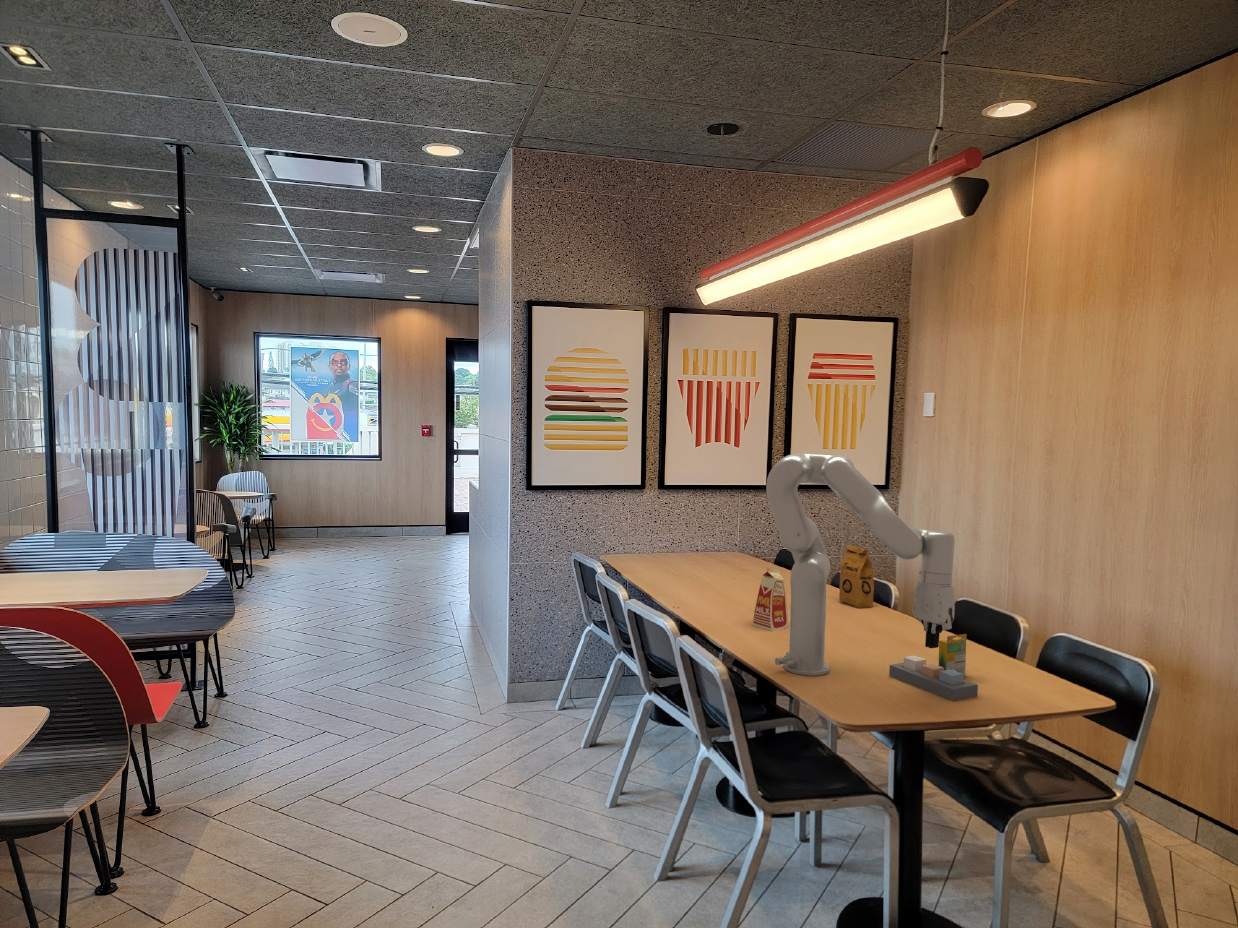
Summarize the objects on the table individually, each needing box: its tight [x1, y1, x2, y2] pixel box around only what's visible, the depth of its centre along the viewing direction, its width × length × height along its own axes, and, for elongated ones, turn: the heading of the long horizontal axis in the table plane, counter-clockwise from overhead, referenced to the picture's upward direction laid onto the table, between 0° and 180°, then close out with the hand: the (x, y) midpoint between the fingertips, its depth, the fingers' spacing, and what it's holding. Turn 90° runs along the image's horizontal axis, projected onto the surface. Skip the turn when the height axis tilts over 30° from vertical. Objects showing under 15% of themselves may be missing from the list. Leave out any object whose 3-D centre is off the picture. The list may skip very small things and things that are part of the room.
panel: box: [888, 662, 979, 702], centre depth 208 cm, size 9×21×3 cm, turn 26°
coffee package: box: [838, 544, 875, 609], centre depth 299 cm, size 10×12×22 cm
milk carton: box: [751, 567, 789, 632], centre depth 265 cm, size 9×9×20 cm
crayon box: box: [938, 633, 968, 677], centre depth 217 cm, size 7×3×12 cm, turn 113°
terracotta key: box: [921, 663, 944, 678], centre depth 208 cm, size 4×4×4 cm
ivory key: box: [903, 654, 927, 672], centre depth 214 cm, size 4×4×4 cm
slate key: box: [939, 669, 964, 686], centre depth 203 cm, size 4×4×4 cm
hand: (931, 646), depth 208 cm, fingers closed
